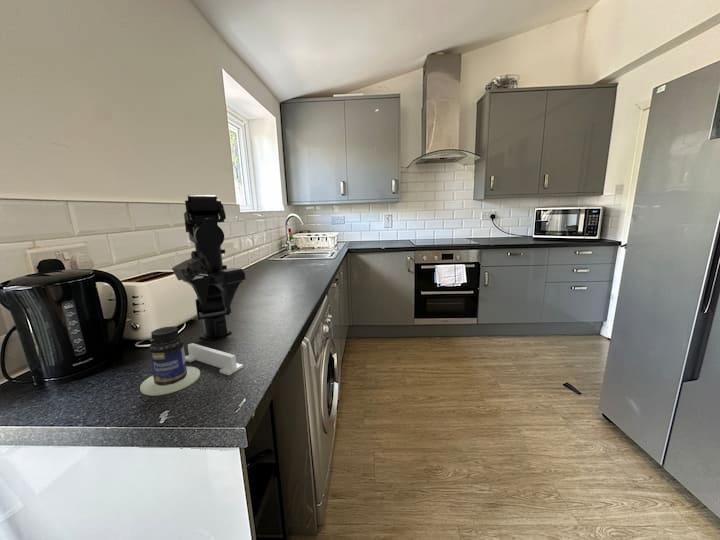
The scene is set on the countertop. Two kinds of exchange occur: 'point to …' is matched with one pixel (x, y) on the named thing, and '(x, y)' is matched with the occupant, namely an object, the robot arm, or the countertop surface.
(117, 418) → the countertop surface
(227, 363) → the low wall
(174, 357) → the pill bottle
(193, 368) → the pad
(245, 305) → the countertop surface
